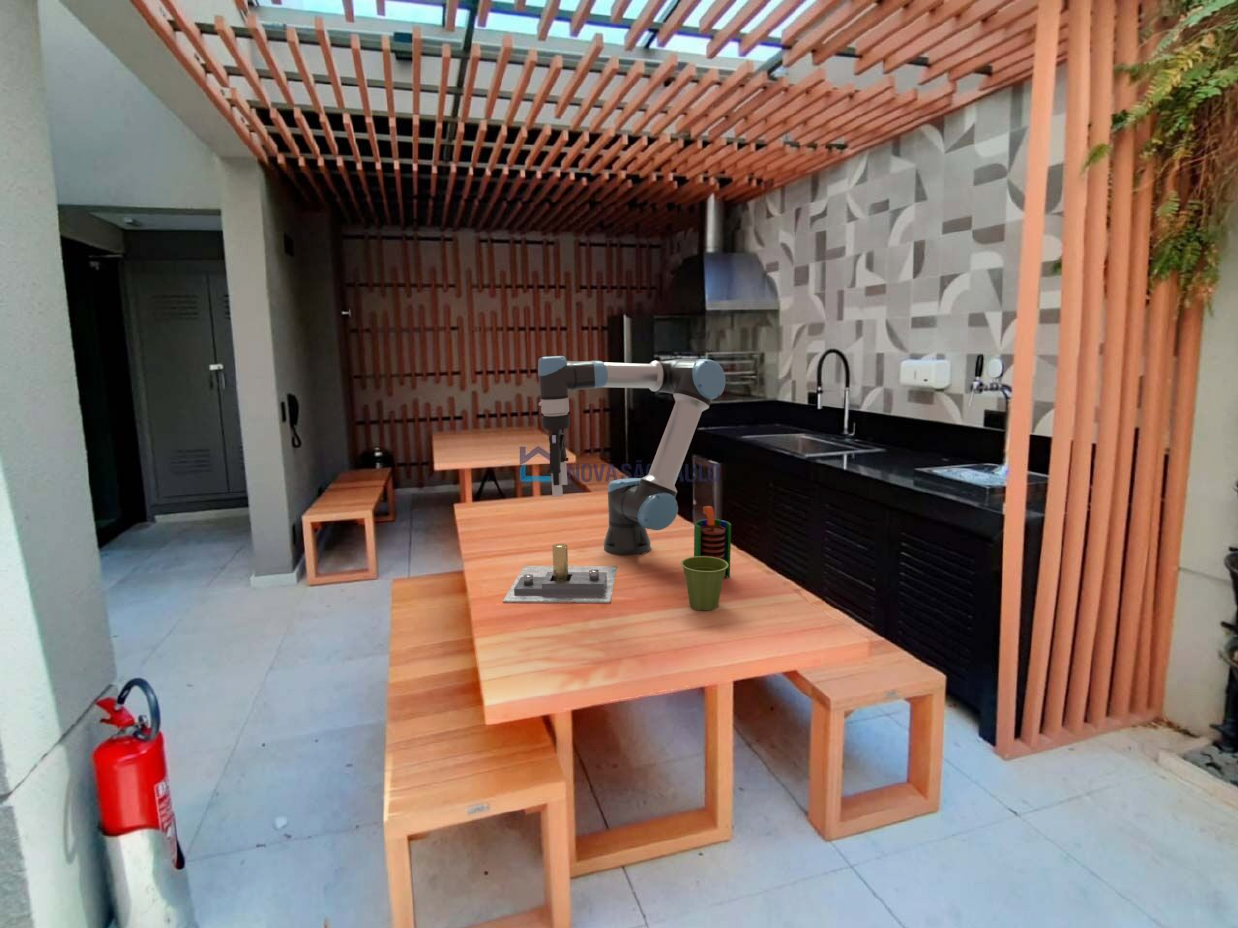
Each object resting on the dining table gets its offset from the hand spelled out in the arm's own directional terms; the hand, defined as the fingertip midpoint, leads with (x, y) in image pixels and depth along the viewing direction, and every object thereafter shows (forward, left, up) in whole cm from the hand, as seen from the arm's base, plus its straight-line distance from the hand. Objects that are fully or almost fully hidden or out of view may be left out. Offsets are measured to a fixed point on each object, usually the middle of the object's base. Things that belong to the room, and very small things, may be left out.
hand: (560, 490), depth 183 cm
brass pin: (-1, +8, -25) cm, 27 cm away
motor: (-42, -3, -26) cm, 49 cm away
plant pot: (-39, +18, -26) cm, 50 cm away
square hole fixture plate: (-1, +4, -26) cm, 26 cm away
